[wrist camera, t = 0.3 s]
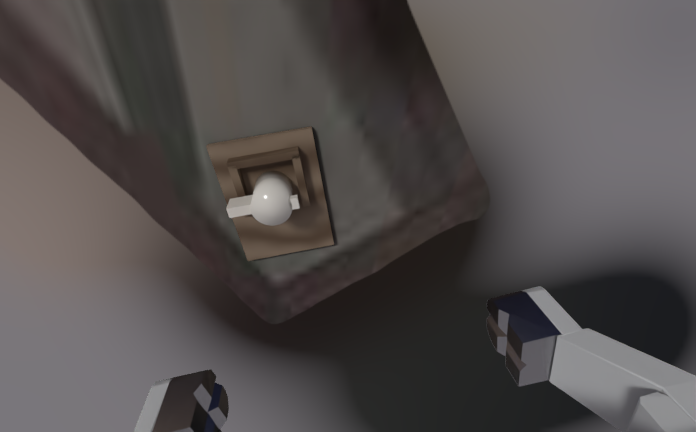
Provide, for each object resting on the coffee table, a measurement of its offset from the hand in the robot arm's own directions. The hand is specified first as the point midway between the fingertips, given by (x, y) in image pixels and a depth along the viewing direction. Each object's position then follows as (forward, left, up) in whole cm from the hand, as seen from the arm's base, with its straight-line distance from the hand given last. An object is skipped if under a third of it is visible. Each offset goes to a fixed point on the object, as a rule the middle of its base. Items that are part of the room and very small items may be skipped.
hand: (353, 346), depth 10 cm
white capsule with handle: (+15, -10, -45) cm, 49 cm away
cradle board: (+16, -8, -46) cm, 50 cm away
